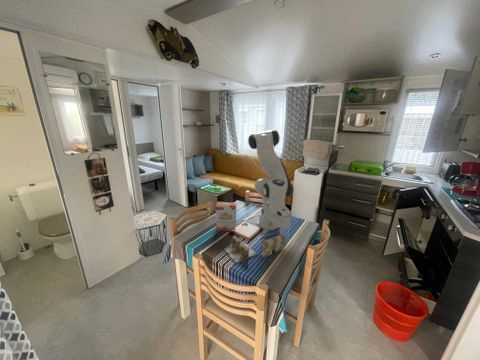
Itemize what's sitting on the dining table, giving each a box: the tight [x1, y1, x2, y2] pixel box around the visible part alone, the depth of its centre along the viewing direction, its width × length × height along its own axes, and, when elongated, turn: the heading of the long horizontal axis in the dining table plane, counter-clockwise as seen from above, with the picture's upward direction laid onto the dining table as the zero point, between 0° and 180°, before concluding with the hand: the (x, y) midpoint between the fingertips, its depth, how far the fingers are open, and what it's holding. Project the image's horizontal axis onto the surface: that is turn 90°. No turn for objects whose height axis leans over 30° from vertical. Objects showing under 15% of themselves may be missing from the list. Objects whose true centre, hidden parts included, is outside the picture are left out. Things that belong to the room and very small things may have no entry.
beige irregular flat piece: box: [261, 233, 286, 258], centre depth 123 cm, size 16×2×10 cm, turn 122°
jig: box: [223, 235, 258, 264], centre depth 123 cm, size 16×15×7 cm
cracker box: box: [215, 201, 237, 232], centre depth 146 cm, size 14×6×21 cm, turn 85°
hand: (275, 229), depth 119 cm, fingers open, 8 cm apart
